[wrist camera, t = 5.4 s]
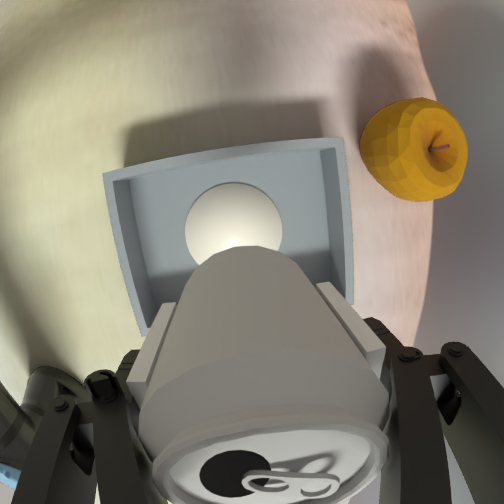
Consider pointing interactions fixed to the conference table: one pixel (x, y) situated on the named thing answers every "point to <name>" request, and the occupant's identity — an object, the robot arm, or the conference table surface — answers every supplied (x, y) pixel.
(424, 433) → the robot arm
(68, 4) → the conference table surface
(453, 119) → the apple
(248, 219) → the walled box
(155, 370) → the can
